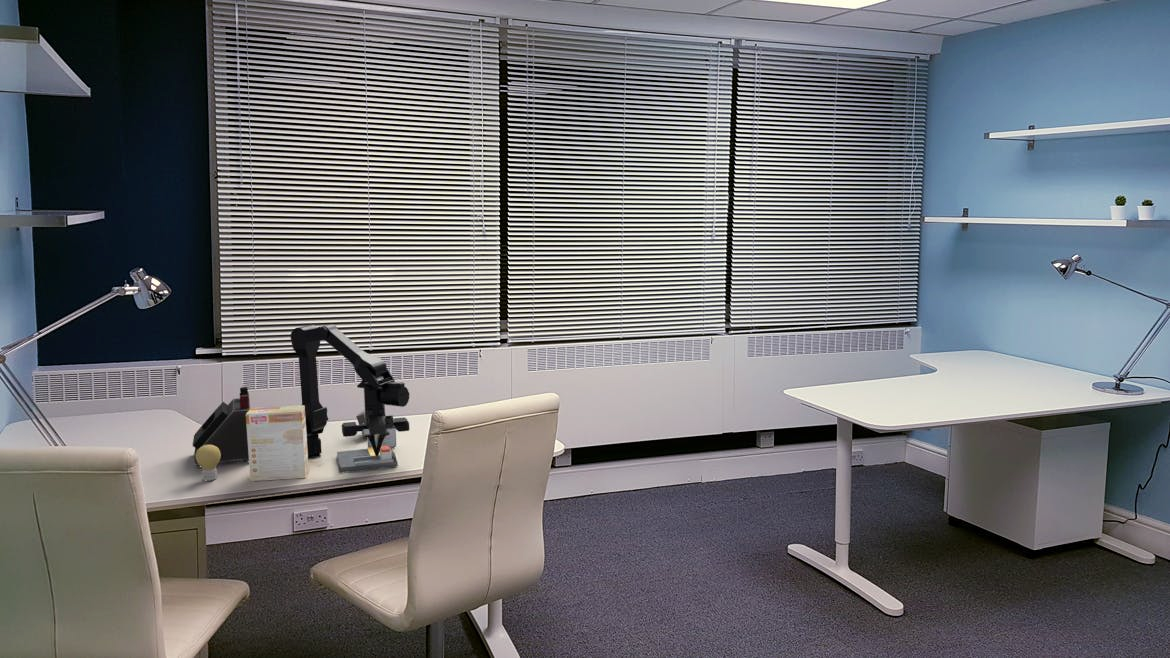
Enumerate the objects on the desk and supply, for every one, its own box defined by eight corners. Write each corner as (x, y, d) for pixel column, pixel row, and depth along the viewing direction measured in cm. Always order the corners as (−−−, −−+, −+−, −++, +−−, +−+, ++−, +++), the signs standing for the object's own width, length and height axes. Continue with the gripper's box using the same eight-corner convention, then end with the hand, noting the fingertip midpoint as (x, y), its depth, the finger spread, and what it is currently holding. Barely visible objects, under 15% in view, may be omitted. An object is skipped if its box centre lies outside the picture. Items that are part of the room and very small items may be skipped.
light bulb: (208, 475, 257) (205, 441, 256) (227, 477, 256) (224, 442, 254) (192, 482, 251) (189, 447, 250) (211, 484, 249) (209, 449, 248)
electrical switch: (374, 439, 292) (370, 411, 290) (358, 440, 292) (354, 412, 291) (383, 431, 301) (379, 404, 300) (368, 432, 302) (364, 405, 300)
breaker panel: (341, 472, 259) (340, 462, 259) (336, 456, 274) (336, 447, 274) (397, 466, 264) (397, 457, 264) (390, 451, 279) (390, 442, 279)
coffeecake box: (309, 470, 261) (305, 404, 258) (305, 478, 254) (301, 411, 251) (254, 473, 259) (250, 407, 255) (249, 481, 252) (245, 413, 248)
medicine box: (389, 443, 287) (388, 417, 286) (397, 446, 284) (395, 419, 283) (367, 448, 282) (366, 421, 281) (374, 451, 279) (373, 424, 278)
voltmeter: (196, 453, 278) (191, 390, 274) (253, 448, 283) (249, 385, 280) (193, 469, 263) (188, 402, 259) (253, 463, 268) (249, 397, 265)
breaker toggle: (381, 462, 264) (381, 450, 263) (379, 458, 267) (379, 446, 267) (391, 461, 264) (391, 449, 264) (390, 457, 268) (389, 445, 268)
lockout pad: (370, 458, 267) (370, 456, 267) (367, 448, 277) (367, 447, 277) (391, 456, 269) (391, 454, 269) (387, 446, 279) (387, 445, 279)
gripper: (343, 412, 252) (346, 467, 254) (411, 407, 258) (413, 460, 260) (340, 403, 262) (343, 455, 265) (405, 398, 268) (407, 449, 271)
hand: (376, 455), depth 265 cm, fingers closed
